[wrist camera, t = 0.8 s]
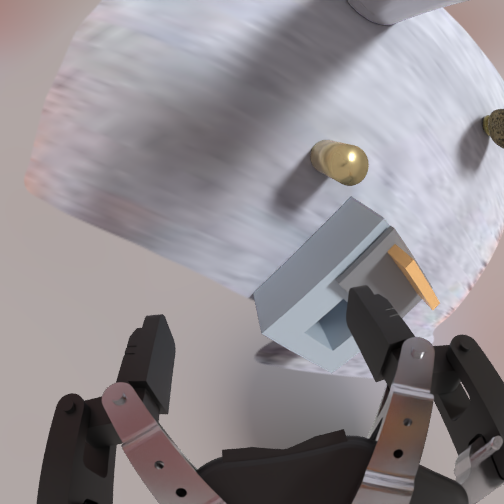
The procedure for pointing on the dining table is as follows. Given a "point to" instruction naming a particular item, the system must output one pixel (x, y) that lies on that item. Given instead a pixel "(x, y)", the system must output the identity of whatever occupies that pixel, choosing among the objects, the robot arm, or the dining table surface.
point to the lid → (390, 274)
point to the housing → (318, 289)
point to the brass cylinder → (340, 161)
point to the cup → (495, 126)
